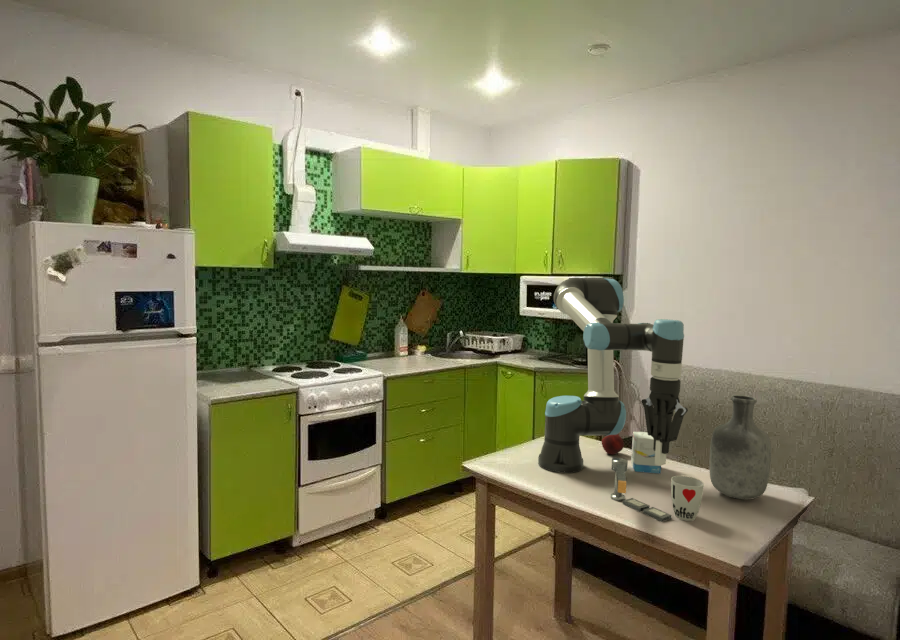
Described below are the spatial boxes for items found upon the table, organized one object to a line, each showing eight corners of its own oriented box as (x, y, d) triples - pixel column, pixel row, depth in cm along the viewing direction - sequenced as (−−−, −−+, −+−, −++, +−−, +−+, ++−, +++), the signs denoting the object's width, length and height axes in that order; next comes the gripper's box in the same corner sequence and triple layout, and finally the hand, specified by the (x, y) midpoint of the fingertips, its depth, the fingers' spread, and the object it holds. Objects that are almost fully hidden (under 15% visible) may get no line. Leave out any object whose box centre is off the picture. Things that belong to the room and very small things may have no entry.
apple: (609, 449, 206) (610, 428, 206) (627, 455, 200) (628, 433, 200) (597, 453, 202) (598, 431, 201) (616, 458, 196) (617, 437, 195)
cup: (663, 516, 149) (666, 480, 148) (676, 507, 155) (678, 473, 154) (694, 526, 143) (696, 489, 142) (706, 517, 149) (708, 481, 148)
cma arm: (611, 466, 162) (611, 457, 162) (626, 468, 161) (627, 458, 161) (613, 491, 142) (613, 481, 142) (630, 494, 141) (631, 483, 141)
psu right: (643, 513, 150) (643, 509, 150) (652, 510, 152) (652, 506, 152) (661, 521, 145) (662, 517, 145) (671, 518, 147) (671, 514, 147)
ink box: (661, 474, 182) (663, 439, 181) (634, 471, 183) (636, 437, 182) (656, 465, 190) (658, 432, 189) (630, 463, 192) (632, 430, 191)
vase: (769, 494, 167) (777, 397, 165) (764, 511, 154) (773, 406, 151) (712, 481, 176) (718, 389, 174) (703, 497, 163) (709, 397, 160)
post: (607, 497, 161) (609, 469, 160) (616, 494, 163) (618, 467, 162) (618, 502, 157) (620, 473, 157) (627, 499, 160) (629, 471, 159)
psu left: (622, 503, 156) (622, 500, 156) (632, 501, 158) (632, 497, 158) (640, 511, 151) (640, 508, 151) (649, 509, 153) (649, 505, 153)
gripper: (636, 374, 149) (631, 459, 151) (678, 383, 138) (672, 474, 140) (653, 372, 153) (648, 455, 155) (696, 380, 142) (690, 469, 144)
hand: (660, 464), depth 148 cm, fingers closed
